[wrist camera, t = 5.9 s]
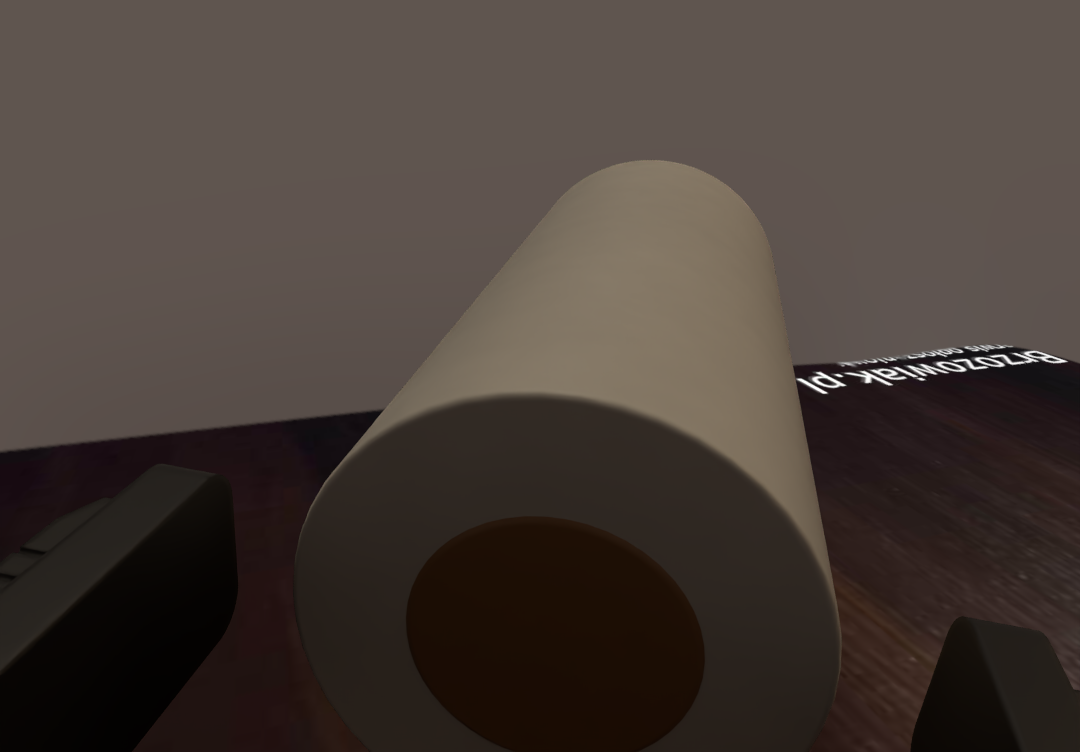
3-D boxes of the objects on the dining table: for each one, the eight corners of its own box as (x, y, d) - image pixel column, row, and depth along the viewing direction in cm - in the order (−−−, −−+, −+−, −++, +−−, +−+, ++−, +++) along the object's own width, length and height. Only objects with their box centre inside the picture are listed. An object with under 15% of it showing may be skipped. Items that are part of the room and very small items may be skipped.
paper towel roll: (294, 788, 11) (279, 349, 8) (520, 374, 23) (540, 144, 20) (778, 902, 10) (912, 452, 8) (749, 411, 22) (797, 175, 19)
